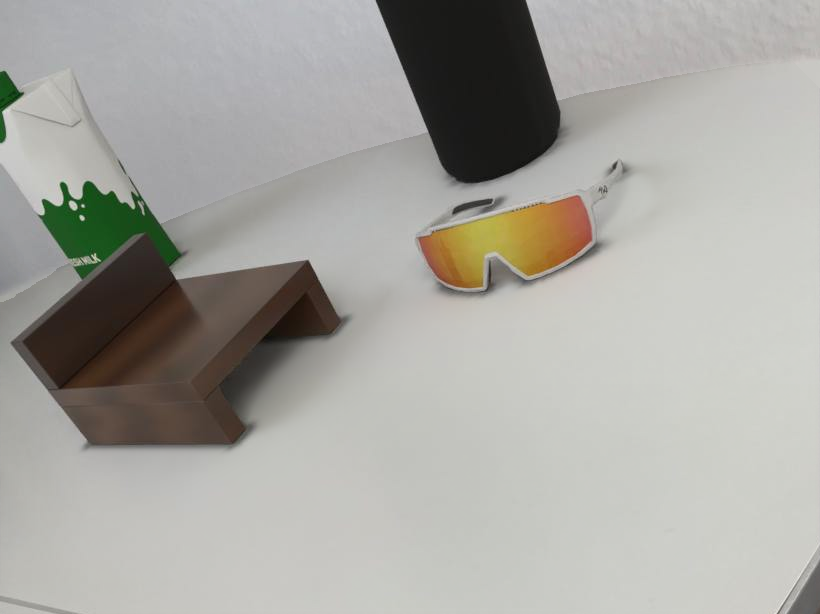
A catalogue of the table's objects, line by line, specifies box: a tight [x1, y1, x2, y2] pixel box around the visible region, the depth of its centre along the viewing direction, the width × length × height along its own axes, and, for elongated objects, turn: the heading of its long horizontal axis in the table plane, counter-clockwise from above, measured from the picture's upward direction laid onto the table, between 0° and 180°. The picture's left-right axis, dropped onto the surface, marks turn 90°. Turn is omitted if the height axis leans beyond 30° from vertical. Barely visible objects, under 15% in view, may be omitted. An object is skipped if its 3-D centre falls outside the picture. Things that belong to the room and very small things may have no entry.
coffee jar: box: [374, 0, 562, 184], centre depth 77 cm, size 11×11×18 cm
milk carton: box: [0, 67, 182, 281], centre depth 92 cm, size 9×9×20 cm
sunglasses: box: [414, 158, 624, 293], centre depth 69 cm, size 14×15×5 cm
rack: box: [10, 233, 342, 445], centre depth 71 cm, size 16×14×9 cm
